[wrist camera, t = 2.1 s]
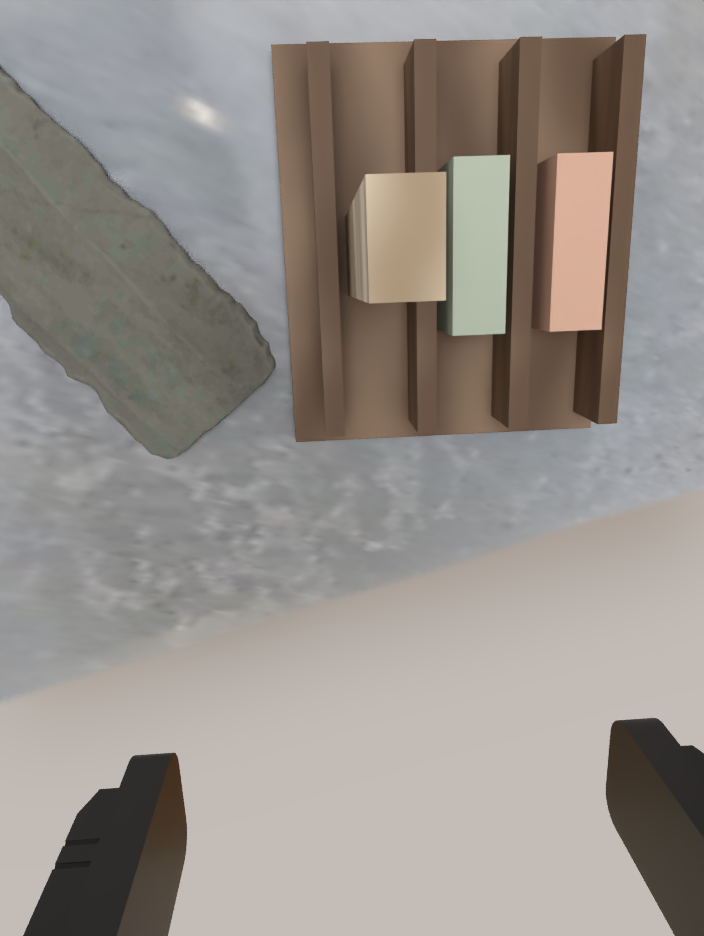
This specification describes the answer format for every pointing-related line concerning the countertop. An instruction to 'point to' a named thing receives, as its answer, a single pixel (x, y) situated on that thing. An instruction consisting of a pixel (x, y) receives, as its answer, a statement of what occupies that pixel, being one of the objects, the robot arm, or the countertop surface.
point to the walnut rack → (427, 150)
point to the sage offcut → (475, 245)
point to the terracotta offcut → (571, 241)
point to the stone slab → (115, 289)
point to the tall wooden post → (397, 238)
